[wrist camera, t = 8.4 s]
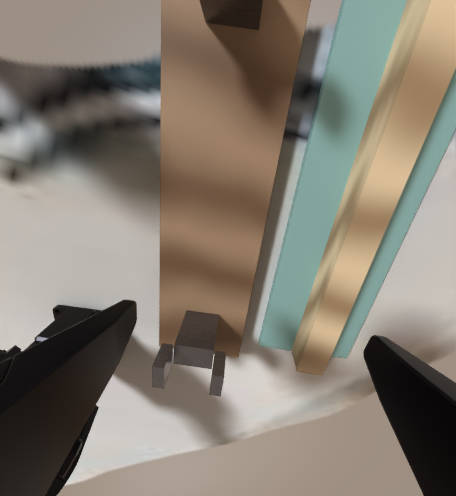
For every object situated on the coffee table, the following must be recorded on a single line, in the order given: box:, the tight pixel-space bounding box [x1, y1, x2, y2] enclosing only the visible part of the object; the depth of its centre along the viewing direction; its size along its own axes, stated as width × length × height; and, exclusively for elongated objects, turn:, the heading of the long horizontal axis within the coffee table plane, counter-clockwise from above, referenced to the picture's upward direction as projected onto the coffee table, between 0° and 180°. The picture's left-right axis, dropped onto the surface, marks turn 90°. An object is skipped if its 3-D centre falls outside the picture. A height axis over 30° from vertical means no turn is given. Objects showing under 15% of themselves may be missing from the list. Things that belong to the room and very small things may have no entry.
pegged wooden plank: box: [152, 0, 263, 396], centre depth 13 cm, size 24×5×6 cm, turn 173°
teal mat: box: [259, 0, 456, 358], centre depth 17 cm, size 28×9×1 cm, turn 173°
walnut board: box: [159, 0, 311, 358], centre depth 17 cm, size 30×8×2 cm, turn 173°
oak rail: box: [292, 0, 456, 375], centre depth 16 cm, size 28×2×2 cm, turn 173°
